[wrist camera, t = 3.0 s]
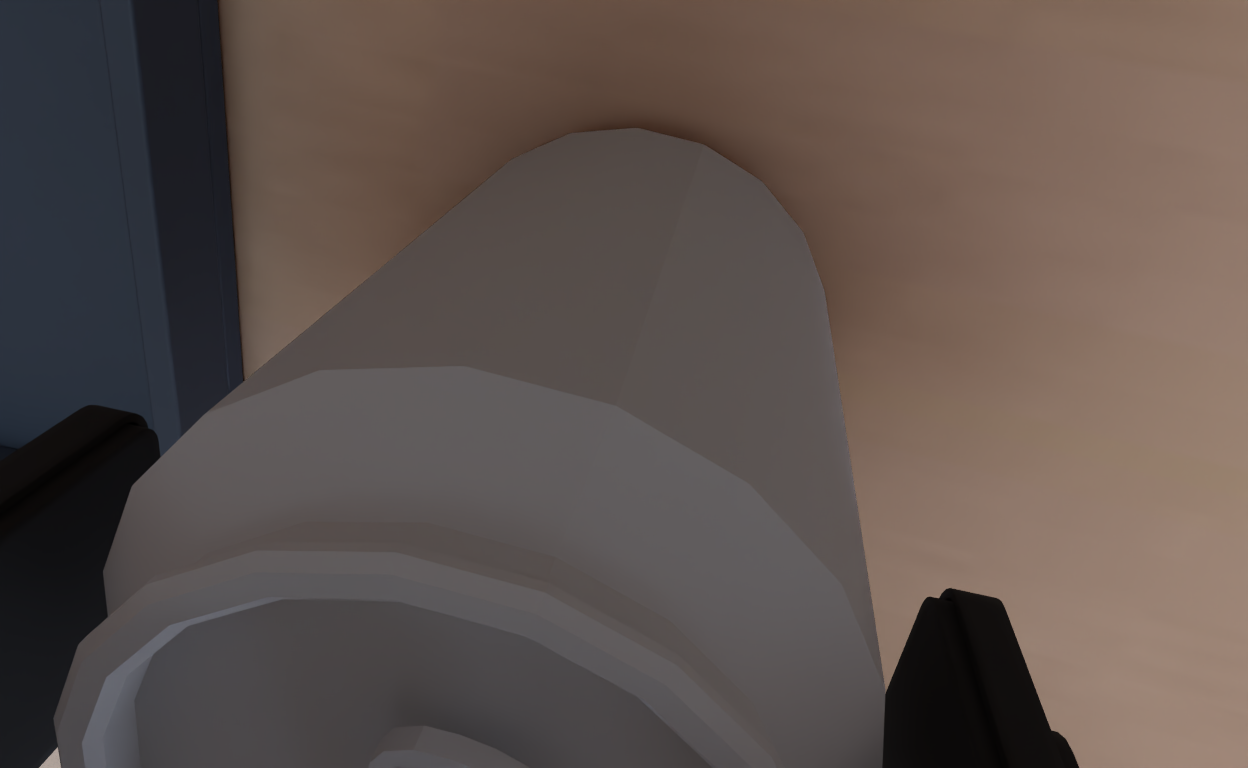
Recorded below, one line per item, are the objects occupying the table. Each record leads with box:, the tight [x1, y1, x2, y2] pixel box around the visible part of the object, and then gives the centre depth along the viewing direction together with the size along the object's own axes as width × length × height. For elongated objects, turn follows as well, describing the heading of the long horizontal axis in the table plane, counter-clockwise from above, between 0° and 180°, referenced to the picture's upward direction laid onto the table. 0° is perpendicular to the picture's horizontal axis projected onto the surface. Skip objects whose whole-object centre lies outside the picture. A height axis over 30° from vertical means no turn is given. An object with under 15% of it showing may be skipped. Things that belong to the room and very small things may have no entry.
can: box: [53, 128, 885, 768], centre depth 12 cm, size 8×8×12 cm
